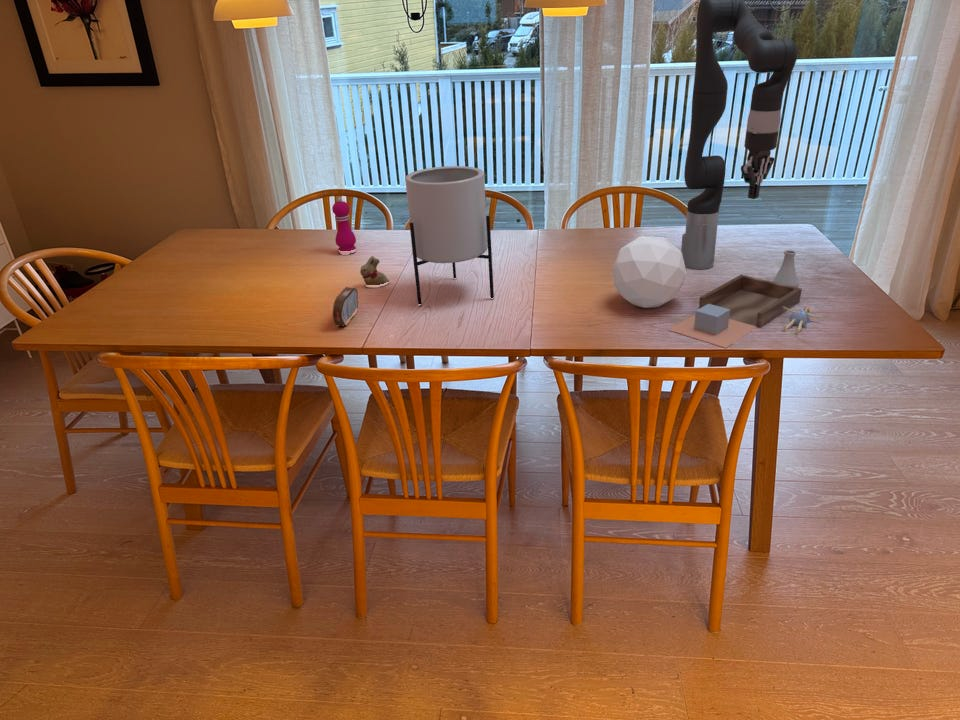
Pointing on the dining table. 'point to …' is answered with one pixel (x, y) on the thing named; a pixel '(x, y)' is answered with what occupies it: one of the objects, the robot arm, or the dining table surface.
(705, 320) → the slate block
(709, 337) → the terracotta mat
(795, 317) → the fairy figurine
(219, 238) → the dining table surface
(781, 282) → the flask
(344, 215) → the pepper mill
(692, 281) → the dining table surface
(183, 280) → the dining table surface
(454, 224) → the plant pot with stand
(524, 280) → the dining table surface
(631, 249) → the geometric orb
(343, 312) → the tin
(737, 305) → the walnut cubby
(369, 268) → the chocolate bunny
